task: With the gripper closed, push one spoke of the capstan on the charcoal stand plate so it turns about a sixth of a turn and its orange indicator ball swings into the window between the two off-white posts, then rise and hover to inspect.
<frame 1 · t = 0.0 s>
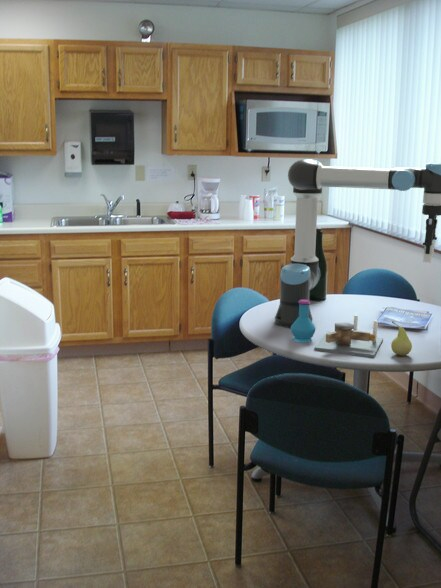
hand: (428, 259, 263), 28 cm above the table, fingers open, 13 cm apart
perfume bottle: (302, 340, 254), on the table
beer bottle: (314, 298, 316), on the table
fruit: (399, 355, 237), on the table
stand: (343, 347, 245), on the table
capstan: (352, 335, 243), point 5 cm above the table, hinge at 0.0°
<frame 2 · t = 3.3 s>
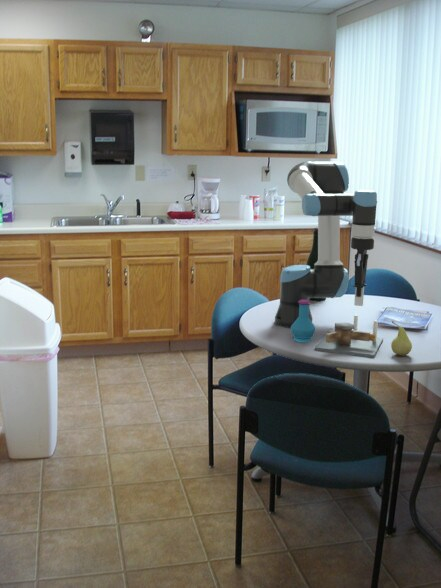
hand: (358, 305, 233), 18 cm above the table, fingers closed
nothing on the table moved.
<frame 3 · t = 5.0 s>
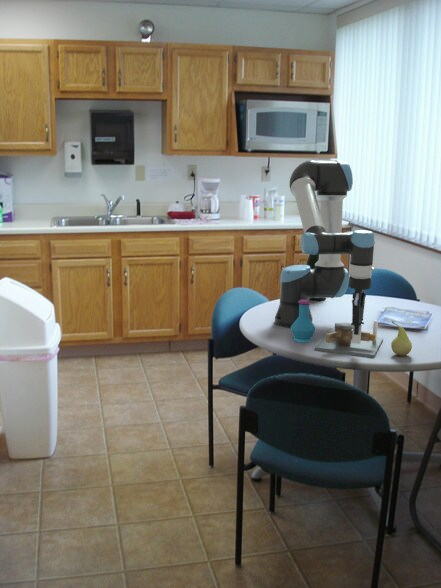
hand: (356, 342, 236), 4 cm above the table, fingers closed
nothing on the table moved.
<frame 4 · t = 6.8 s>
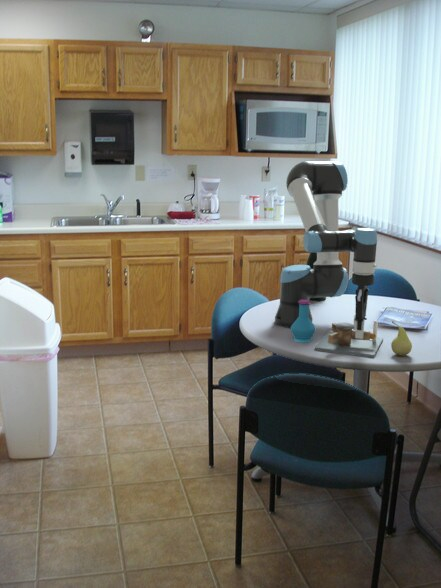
hand: (359, 337, 242), 4 cm above the table, fingers closed
capstan: (352, 334, 244), point 5 cm above the table, hinge at 7.8°, touching gripper
everything else where it was.
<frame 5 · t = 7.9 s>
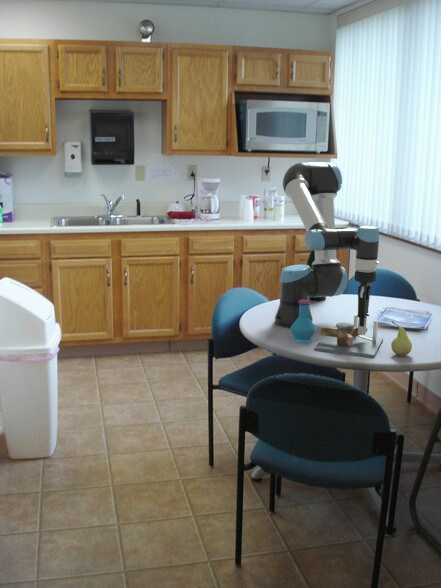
hand: (361, 334, 246), 5 cm above the table, fingers closed
capstan: (350, 332, 246), point 5 cm above the table, hinge at 54.8°, touching gripper
everything else where it was.
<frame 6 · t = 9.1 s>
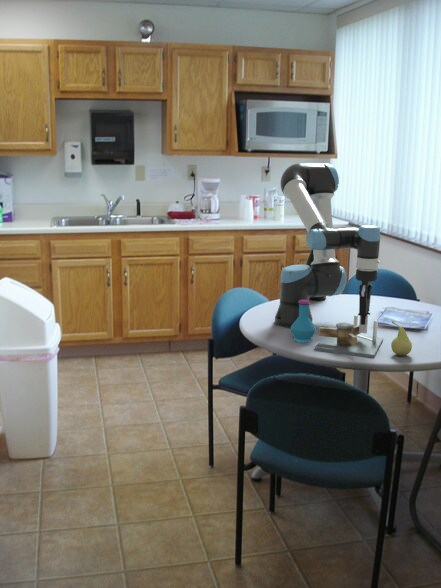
hand: (362, 332, 248), 4 cm above the table, fingers closed
capstan: (349, 332, 246), point 5 cm above the table, hinge at 64.5°, touching gripper
everything else where it was.
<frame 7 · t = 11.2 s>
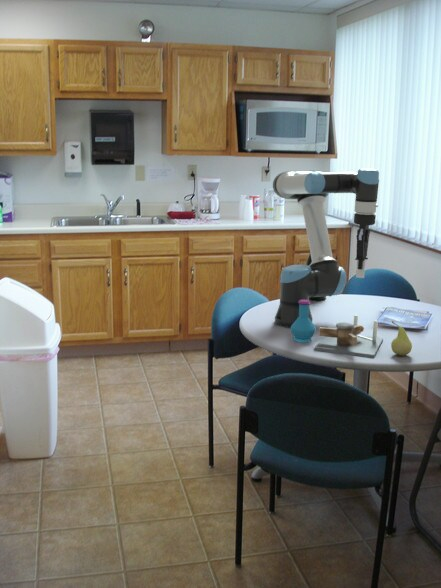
hand: (360, 277, 248), 24 cm above the table, fingers closed
capstan: (349, 332, 246), point 5 cm above the table, hinge at 64.6°
everything else where it was.
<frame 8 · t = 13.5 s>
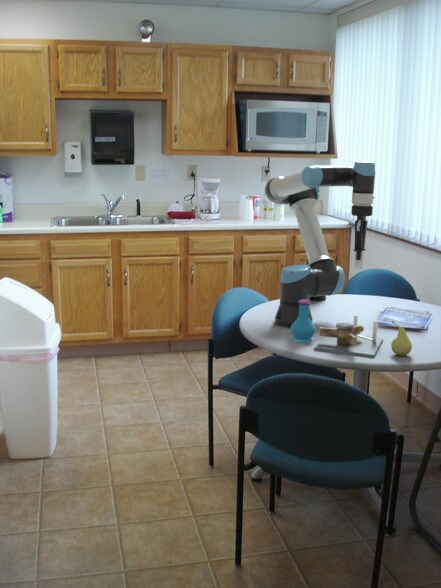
hand: (358, 268, 252), 26 cm above the table, fingers closed
nothing on the table moved.
at the end: capstan at +65° (first picture: +0°) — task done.
